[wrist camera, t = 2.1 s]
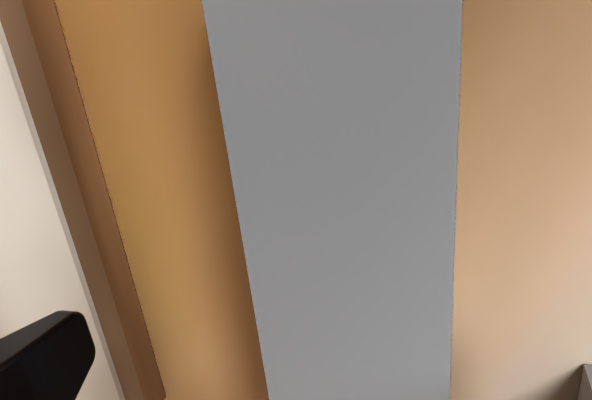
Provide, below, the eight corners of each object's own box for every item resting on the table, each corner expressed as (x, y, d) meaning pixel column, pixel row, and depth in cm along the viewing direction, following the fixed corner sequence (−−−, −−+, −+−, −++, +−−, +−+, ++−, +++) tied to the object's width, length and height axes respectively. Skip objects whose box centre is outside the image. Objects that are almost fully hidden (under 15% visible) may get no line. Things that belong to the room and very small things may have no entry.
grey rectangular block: (461, -149, 9) (468, -187, 6) (444, 430, 15) (444, 561, 12) (261, -120, 10) (177, -139, 7) (321, 415, 16) (291, 532, 13)
